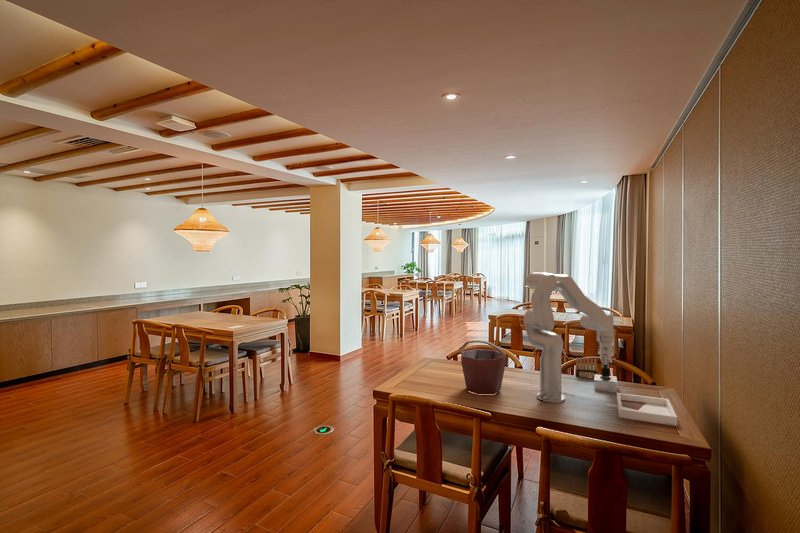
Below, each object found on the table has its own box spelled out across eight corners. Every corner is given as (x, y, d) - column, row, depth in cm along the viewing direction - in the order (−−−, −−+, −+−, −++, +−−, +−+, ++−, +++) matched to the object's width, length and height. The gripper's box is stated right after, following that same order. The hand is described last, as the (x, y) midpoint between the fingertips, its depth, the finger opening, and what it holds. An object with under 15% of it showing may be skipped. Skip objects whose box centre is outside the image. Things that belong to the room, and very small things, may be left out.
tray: (677, 426, 155) (677, 417, 155) (619, 417, 164) (619, 409, 164) (668, 406, 174) (668, 398, 174) (616, 400, 183) (616, 392, 183)
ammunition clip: (575, 378, 217) (575, 356, 217) (575, 377, 219) (575, 355, 219) (597, 380, 213) (597, 358, 213) (597, 379, 215) (597, 357, 214)
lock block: (617, 394, 191) (617, 382, 191) (594, 391, 195) (594, 379, 195) (616, 388, 200) (616, 376, 200) (594, 385, 204) (594, 374, 204)
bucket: (450, 389, 203) (449, 341, 202) (477, 380, 217) (476, 335, 217) (489, 401, 184) (489, 348, 184) (516, 390, 199) (515, 341, 198)
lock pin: (607, 389, 195) (607, 365, 195) (601, 388, 198) (600, 364, 197) (610, 387, 197) (609, 364, 197) (603, 386, 200) (603, 363, 199)
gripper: (614, 342, 188) (614, 380, 188) (613, 336, 203) (613, 371, 203) (596, 341, 191) (597, 378, 192) (596, 335, 206) (597, 369, 206)
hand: (605, 374), depth 197 cm, fingers closed on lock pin, 3 cm apart
